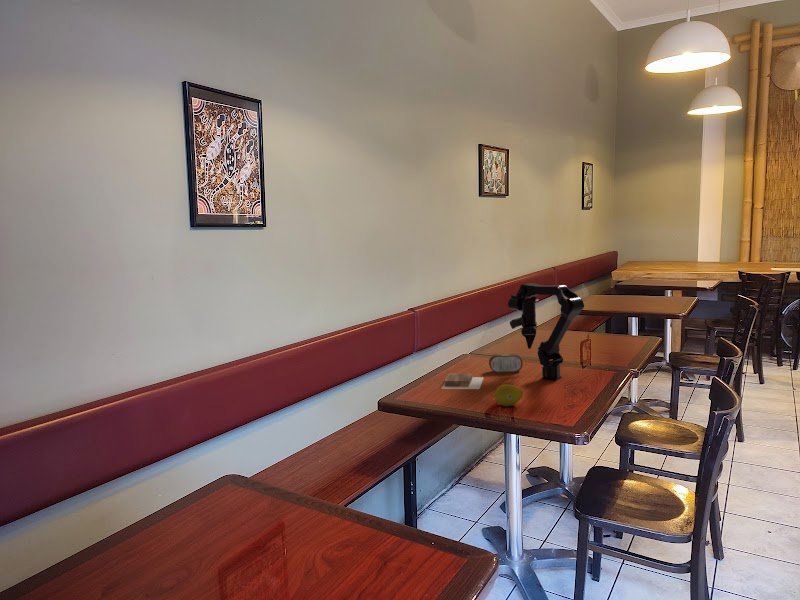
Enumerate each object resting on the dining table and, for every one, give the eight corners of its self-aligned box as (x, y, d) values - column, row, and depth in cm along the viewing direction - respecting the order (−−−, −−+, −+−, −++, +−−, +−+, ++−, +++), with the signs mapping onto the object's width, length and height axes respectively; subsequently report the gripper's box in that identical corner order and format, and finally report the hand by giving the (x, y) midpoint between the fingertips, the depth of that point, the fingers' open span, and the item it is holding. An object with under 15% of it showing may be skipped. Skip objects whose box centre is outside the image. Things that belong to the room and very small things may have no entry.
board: (471, 373, 251) (449, 373, 254) (468, 381, 240) (444, 380, 242) (472, 379, 252) (449, 378, 254) (468, 386, 240) (444, 386, 243)
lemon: (492, 408, 212) (491, 387, 211) (495, 401, 219) (494, 381, 218) (522, 409, 209) (521, 388, 208) (524, 403, 216) (523, 382, 215)
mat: (483, 378, 253) (483, 377, 253) (479, 389, 236) (479, 389, 236) (447, 377, 257) (447, 376, 257) (440, 389, 240) (440, 388, 240)
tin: (522, 370, 262) (522, 352, 261) (523, 372, 259) (522, 354, 258) (489, 371, 264) (488, 353, 263) (489, 373, 260) (488, 355, 259)
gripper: (511, 308, 265) (512, 342, 267) (509, 315, 248) (510, 351, 250) (536, 308, 263) (537, 342, 265) (535, 315, 245) (536, 351, 247)
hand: (529, 346), depth 257 cm, fingers open, 9 cm apart
